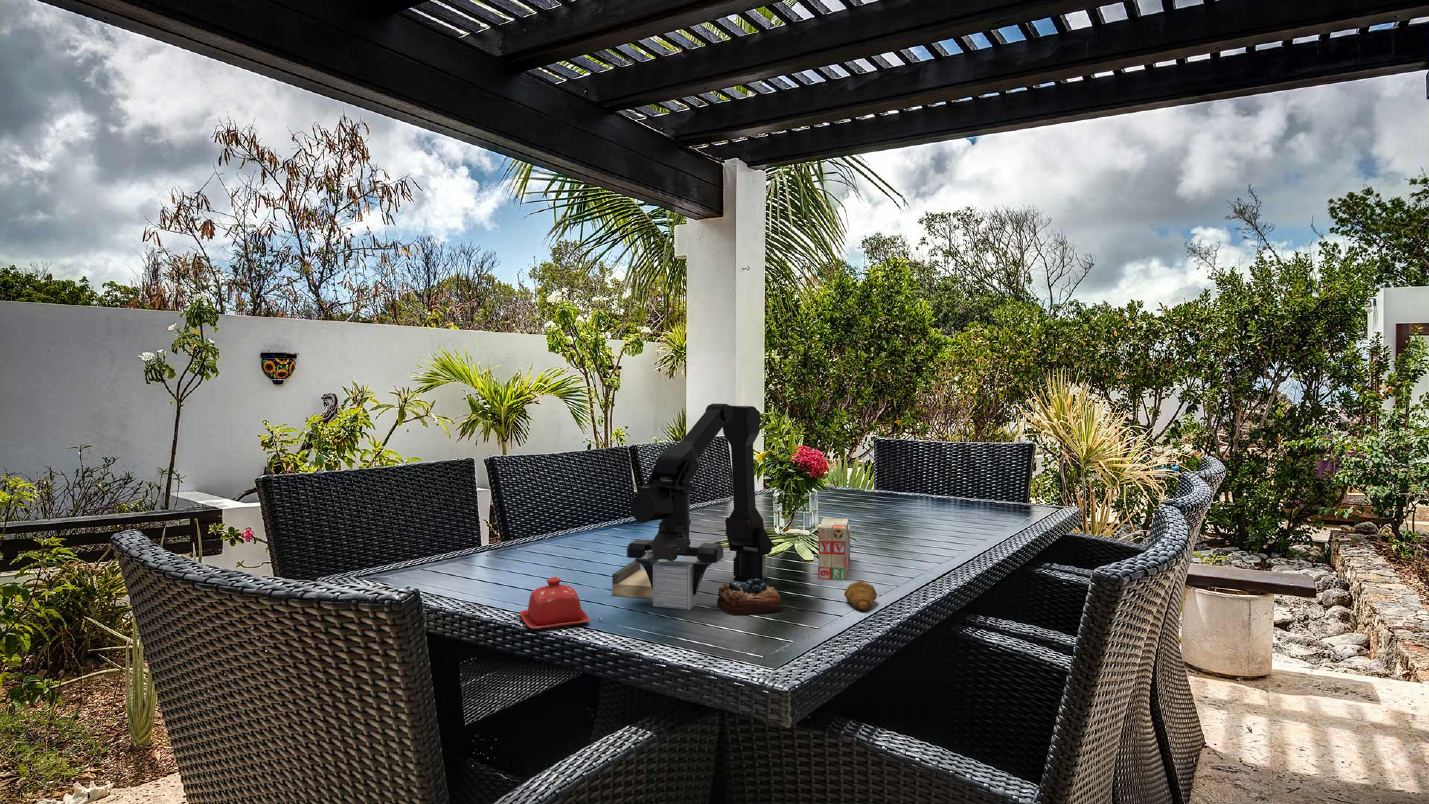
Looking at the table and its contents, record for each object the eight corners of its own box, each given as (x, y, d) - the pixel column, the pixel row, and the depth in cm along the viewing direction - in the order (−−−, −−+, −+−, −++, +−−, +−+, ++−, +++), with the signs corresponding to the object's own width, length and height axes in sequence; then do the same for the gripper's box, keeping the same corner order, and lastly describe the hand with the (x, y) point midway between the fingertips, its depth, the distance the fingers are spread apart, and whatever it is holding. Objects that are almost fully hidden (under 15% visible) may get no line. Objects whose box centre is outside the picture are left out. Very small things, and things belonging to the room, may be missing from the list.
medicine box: (697, 604, 162) (697, 562, 162) (689, 610, 158) (689, 566, 158) (660, 601, 165) (661, 559, 165) (652, 607, 161) (652, 563, 160)
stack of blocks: (825, 559, 205) (825, 511, 205) (850, 561, 203) (850, 512, 203) (817, 579, 184) (818, 526, 184) (845, 581, 183) (845, 527, 182)
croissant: (881, 614, 157) (881, 589, 157) (846, 614, 158) (846, 588, 157) (873, 596, 171) (873, 573, 170) (840, 595, 171) (841, 572, 171)
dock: (694, 583, 179) (694, 563, 179) (675, 600, 166) (676, 578, 165) (635, 579, 183) (635, 560, 183) (612, 595, 169) (612, 574, 169)
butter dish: (529, 635, 143) (529, 587, 143) (517, 617, 154) (517, 573, 154) (592, 627, 148) (592, 581, 148) (576, 611, 159) (576, 568, 158)
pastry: (711, 603, 164) (711, 575, 164) (764, 598, 168) (764, 570, 168) (731, 619, 154) (731, 588, 154) (787, 612, 158) (788, 583, 158)
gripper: (616, 520, 156) (616, 600, 156) (709, 525, 151) (709, 607, 151) (636, 511, 166) (636, 586, 167) (724, 515, 162) (723, 592, 162)
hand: (674, 593), depth 161 cm, fingers closed on medicine box, 8 cm apart
